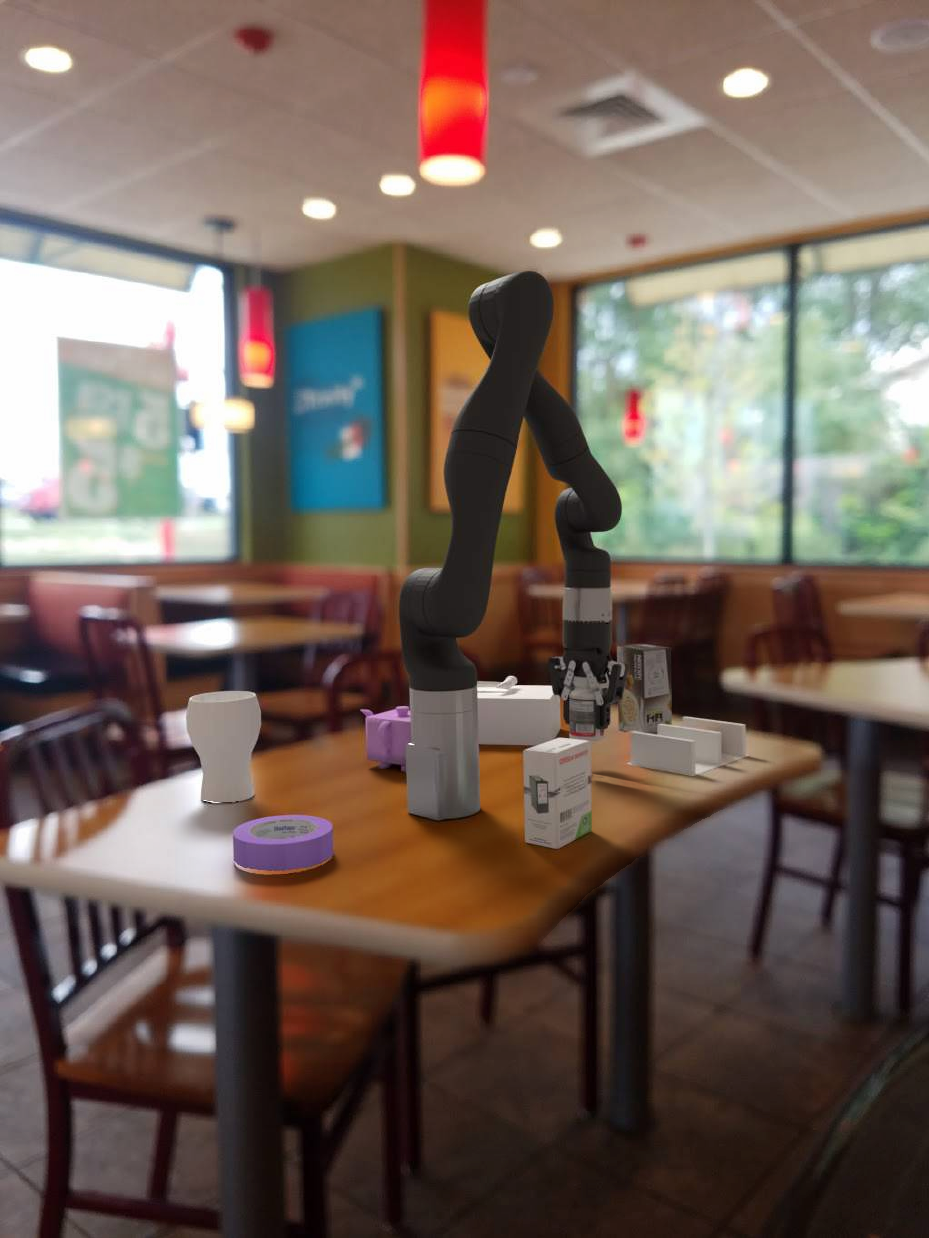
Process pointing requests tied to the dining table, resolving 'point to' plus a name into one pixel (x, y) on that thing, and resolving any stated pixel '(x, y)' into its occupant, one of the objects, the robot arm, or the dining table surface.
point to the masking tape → (283, 842)
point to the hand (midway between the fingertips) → (586, 725)
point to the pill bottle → (583, 712)
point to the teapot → (388, 736)
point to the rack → (689, 746)
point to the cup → (224, 742)
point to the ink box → (557, 792)
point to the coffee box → (645, 687)
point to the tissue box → (516, 713)
